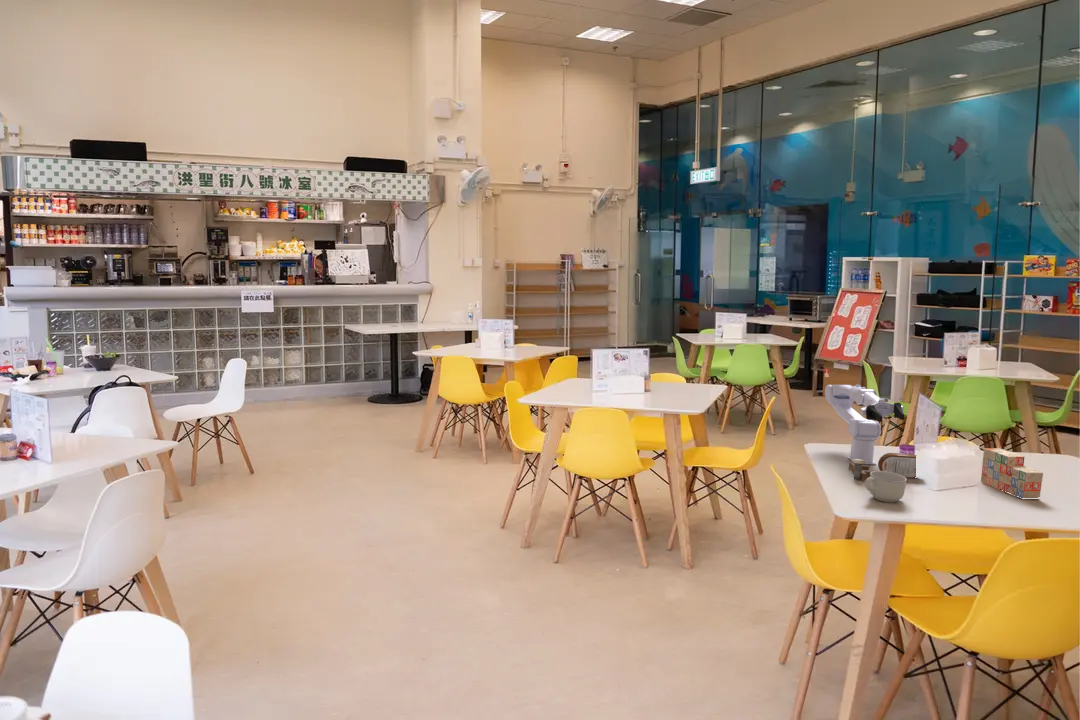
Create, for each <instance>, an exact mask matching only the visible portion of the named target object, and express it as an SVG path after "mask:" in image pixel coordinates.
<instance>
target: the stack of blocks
mask: <svg viewBox="0 0 1080 720" xmlns="http://www.w3.org/2000/svg"><path fill="white" fill-rule="evenodd" d="M1043 477H1044V472H1043V471H1040V470H1037V469H1034V468H1032V467H1029V466H1027V465H1025V456H1023V455H1020V454H1017V453H1015V452H1011V451H1008V450H1006V449H1003V448H997V447H996V448H995V447H994V448H985V447H984V448H983V457H982V466H981V477H980V483H983V484H984V485H987V486H989V485H990V486H989V487H991V486H992V487H991V488H993V487H995V488H994V489H996V488H998V489H1001V490H1003V491H1006V492H1009V493H1011V494H1013V495H1015V496H1019V497H1021V498H1038V497H1040V498H1041V491H1042V482H1043ZM998 489H997V490H998ZM1001 490H1000V491H1001ZM1003 491H1002V492H1003ZM1015 496H1014V497H1015Z"/></svg>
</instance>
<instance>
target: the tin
mask: <svg viewBox="0 0 1080 720" xmlns="http://www.w3.org/2000/svg"><path fill="white" fill-rule="evenodd" d="M916 456H917V455H916V454H914V453H913V454H912V453H898V452H888V453H884V454H883V455H882V456H880V457H879V459H878V462H877V466H878V471H887V472H892V473H896V474H899V475H902V476H904V477H905V478H906V479H916V478H915V477H916Z"/></svg>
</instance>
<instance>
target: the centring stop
mask: <svg viewBox="0 0 1080 720" xmlns="http://www.w3.org/2000/svg"><path fill="white" fill-rule="evenodd" d="M864 463H865V461H864V460H861V459H853V461H849V462H848V467H847V469H848V470H849V471H850V472H851V471H852V472H853V473H852V472H851V473H852V474H853V478H854V479H853V480H855V479H856V480H855V481H863V482H865V481H866V479H867V478H869V477H870V472H872V471H873V470H869V469H870V468H869V467H870V466H869V464H864Z"/></svg>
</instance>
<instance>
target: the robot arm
mask: <svg viewBox="0 0 1080 720" xmlns="http://www.w3.org/2000/svg"><path fill="white" fill-rule="evenodd" d="M877 393H878V392H877V391H876V390H875V389H874V388H871V389H870V388H869V389H867V388H866V386H861V384H855V385H852V384H827V385H826V386H825V389H824V397H825V401H827V402H828V404H829V405H831V406H832V408H833V409H834V411H835V413H836V414H837V415H838V416H839V417H840V418H841V419H843V420H844V421H845V422H846V423H847V424H848V426H847V428H848V432H849V434H850V435H851V437H852V438H853V439H852V440H851V443H850V453H849V455H850V456H847V459H848V460H850V462H852V461H853V459H861V460H864V461H865V463H864V464H863V465H877V462H876V461H874V450H875V441H877V439H878V438H879V437H880V435H881V432H882V426H881V424H880V423H879V422H883V418H886V417H888V416H890V415H892V414H893V418H894V419H899V420H900V421H903V420H904V421H905V413H904V406H903V405H902V403H900V402H894V403H891V402H888V401H886V399H885V398H881V397H879V396H878V394H877ZM854 402H856V405H862V406H863V407H860V413H859V412H857V410H855V409H854V408H853V407H852V406H854ZM863 416H865V418H864V417H863Z"/></svg>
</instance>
